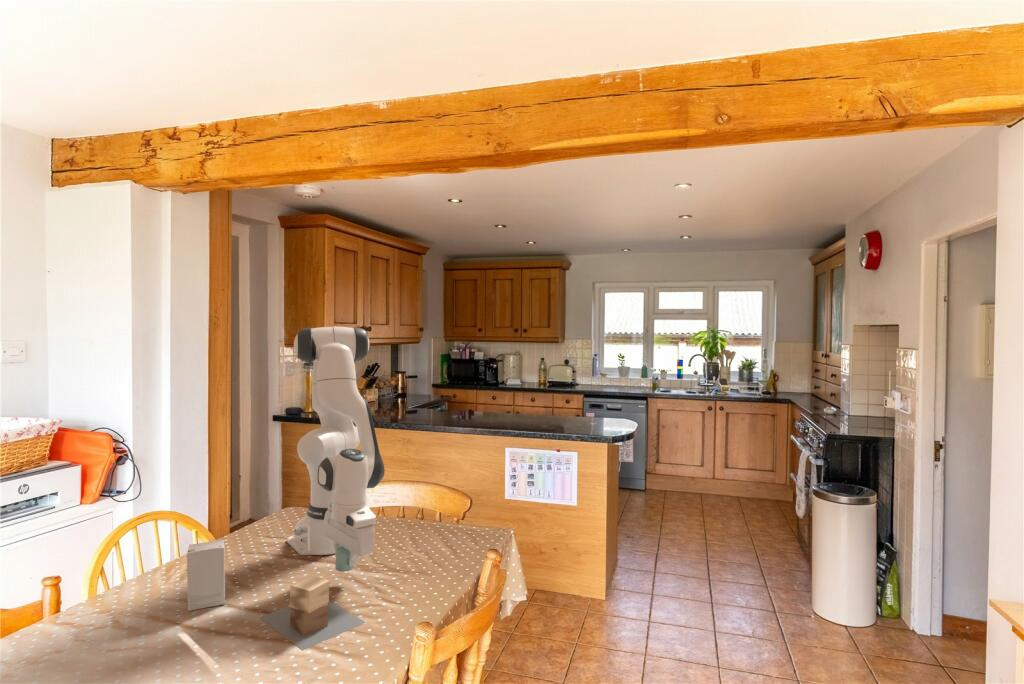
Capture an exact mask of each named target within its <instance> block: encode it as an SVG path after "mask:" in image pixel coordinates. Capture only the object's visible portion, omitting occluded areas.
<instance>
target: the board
mask: <svg viewBox="0 0 1024 684" xmlns="http://www.w3.org/2000/svg"><path fill="white" fill-rule="evenodd" d="M327 604H328V626H326V627H324V628H322V629H319V630H317V631H314V632H312V633H310V634H307V635H305V636H303V635H301V634H300V633H299V632H297V631H296V630H294V629H293V628H292V627H290V609H291V607H290V605H289V606H287V607H284V608H281V609H279V610H278V609H277V610H275V611H273V612H270V613H268V614H265V615H262V616H259V617H258V618H259V619H260V620H262V621H263V623H266V624H267V625H268V626H269V627H271V628H272V629H274V631H276V632H277V633H278V634H280V635H281V636H282V637H284V638H285V639H286V640H288V641H289V642H290V643H291V644H293V645H294V646H296V647H297V648H298V649H299V650H301V651H305V650H306V649H309V648H311V647H314V646H316V645H318V644H320V643H322V642H323V643H324V641H327V640H330V639H331V638H334V637H337V636H339V635H341V634H343V633H345V632H347V631H350V630H352V629H354V628H357V627H359V626H361V625H365V624H367V622H366V620H365V621H364V620H363V619H361V618H360V617H358V616H357V615H355V614H353V613H351V612H350V611H348V610H347V609H345V608H343V607H341V606H340V605H338V604H336V603H335V602H334V601H332V600H330V599H329V602H328V603H327Z"/></svg>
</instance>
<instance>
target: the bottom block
mask: <svg viewBox="0 0 1024 684" xmlns="http://www.w3.org/2000/svg"><path fill="white" fill-rule="evenodd" d="M326 626H328V604H327V603H326V604H325V605H323V606H321V607H319V608H318V609H316V610H314V611H312V612H311V613H307V612H304V611H300V610H297V609H294V608H291V609H290V627H292V628H293V629H294V630H296V631H297V632H299V633H300V634H301V635H303V636H305V635H307V634H310V633H312V632H314V631H317V630H319V629H322V628H324V627H326Z"/></svg>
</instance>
